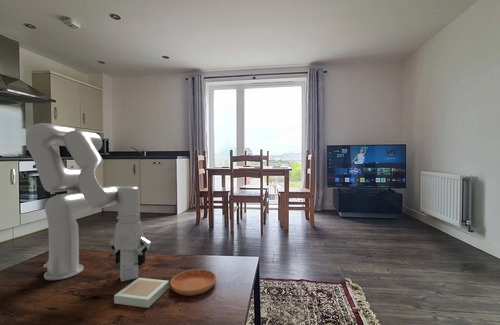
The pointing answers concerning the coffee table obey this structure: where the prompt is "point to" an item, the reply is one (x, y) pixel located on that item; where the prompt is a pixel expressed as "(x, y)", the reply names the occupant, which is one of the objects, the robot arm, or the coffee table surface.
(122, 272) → the skincare box
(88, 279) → the coffee table surface
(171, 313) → the coffee table surface
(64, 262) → the robot arm
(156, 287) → the picture frame
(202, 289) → the saucer
